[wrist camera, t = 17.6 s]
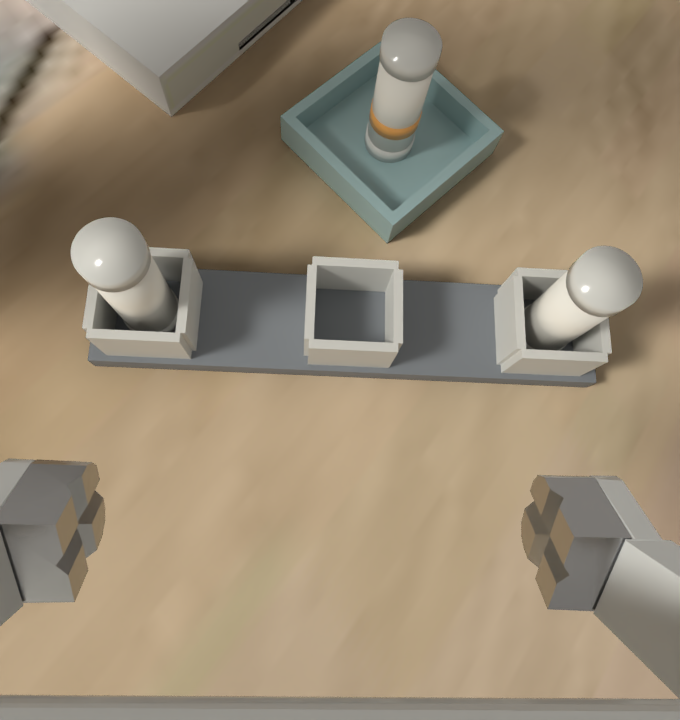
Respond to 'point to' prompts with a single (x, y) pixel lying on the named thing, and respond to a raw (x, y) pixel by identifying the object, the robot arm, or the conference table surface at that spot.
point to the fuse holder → (346, 326)
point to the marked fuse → (401, 87)
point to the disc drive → (166, 38)
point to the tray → (379, 179)
